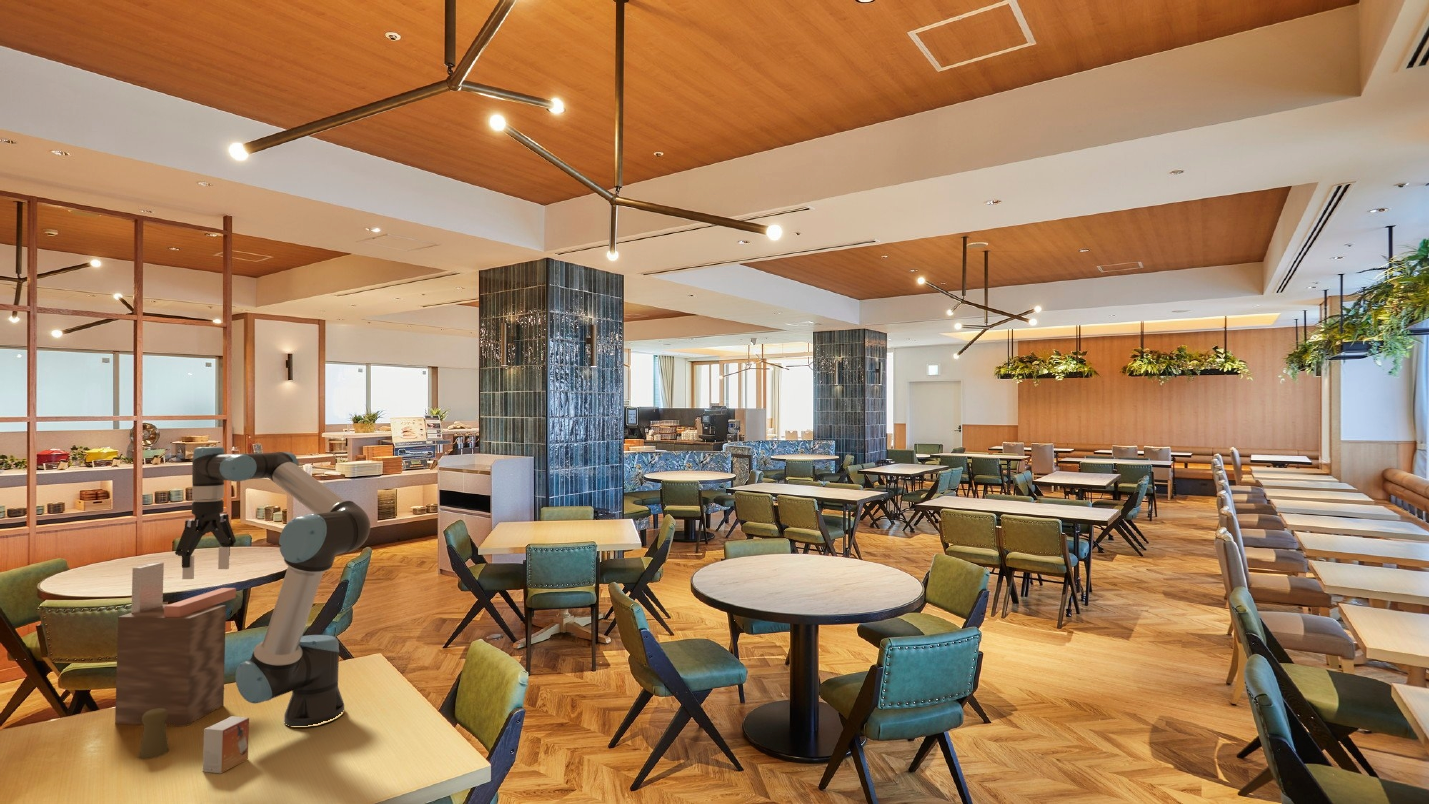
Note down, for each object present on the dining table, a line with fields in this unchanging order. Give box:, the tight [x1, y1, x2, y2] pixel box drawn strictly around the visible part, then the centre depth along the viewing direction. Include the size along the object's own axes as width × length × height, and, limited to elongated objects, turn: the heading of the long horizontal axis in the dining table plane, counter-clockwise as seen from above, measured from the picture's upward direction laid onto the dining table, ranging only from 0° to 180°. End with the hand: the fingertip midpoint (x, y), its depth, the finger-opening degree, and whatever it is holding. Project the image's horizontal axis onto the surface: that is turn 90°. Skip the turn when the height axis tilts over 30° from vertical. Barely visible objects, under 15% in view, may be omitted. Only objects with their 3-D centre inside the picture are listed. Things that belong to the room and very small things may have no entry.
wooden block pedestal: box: [114, 603, 227, 727], centre depth 206 cm, size 14×21×30 cm, turn 87°
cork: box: [138, 708, 170, 760], centre depth 182 cm, size 6×6×11 cm
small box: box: [202, 715, 250, 774], centre depth 176 cm, size 8×6×10 cm
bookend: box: [130, 561, 165, 613], centre depth 208 cm, size 8×2×13 cm, turn 177°
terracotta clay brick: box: [164, 587, 237, 617], centre depth 211 cm, size 22×4×3 cm, turn 177°
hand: (206, 574), depth 203 cm, fingers open, 13 cm apart
